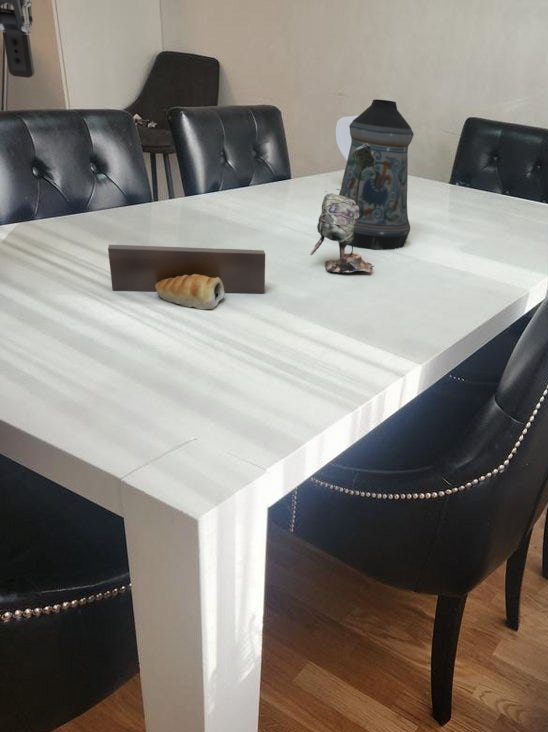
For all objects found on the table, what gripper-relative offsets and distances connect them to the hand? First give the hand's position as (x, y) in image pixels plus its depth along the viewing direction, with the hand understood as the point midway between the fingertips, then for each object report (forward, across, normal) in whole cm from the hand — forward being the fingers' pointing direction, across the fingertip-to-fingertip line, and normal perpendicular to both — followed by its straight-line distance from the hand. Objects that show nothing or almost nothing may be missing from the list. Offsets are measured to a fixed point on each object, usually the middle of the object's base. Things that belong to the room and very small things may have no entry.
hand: (22, 76), depth 67 cm
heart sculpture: (+26, -99, +65) cm, 121 cm away
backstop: (+27, -14, +17) cm, 34 cm away
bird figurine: (+27, -27, +44) cm, 58 cm away
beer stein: (+26, -50, +54) cm, 78 cm away
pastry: (+27, -9, +17) cm, 33 cm away
